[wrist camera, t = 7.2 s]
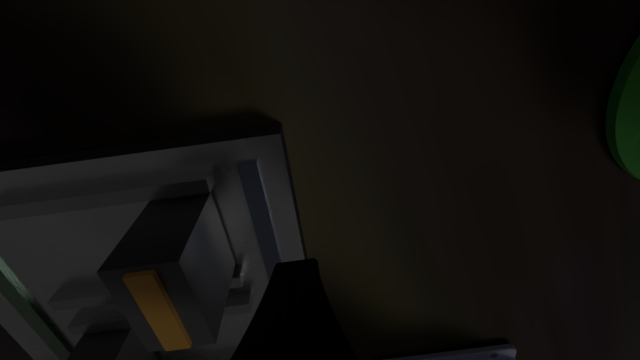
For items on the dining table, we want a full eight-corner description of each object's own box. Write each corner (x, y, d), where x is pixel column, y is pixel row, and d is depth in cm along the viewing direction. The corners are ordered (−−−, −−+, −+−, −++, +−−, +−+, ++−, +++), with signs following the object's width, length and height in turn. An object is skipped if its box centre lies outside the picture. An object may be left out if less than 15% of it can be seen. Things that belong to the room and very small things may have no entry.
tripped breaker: (210, 192, 13) (176, 266, 9) (235, 263, 15) (214, 348, 11) (150, 200, 13) (92, 277, 9) (182, 270, 15) (145, 357, 11)
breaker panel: (281, 123, 13) (278, 141, 12) (334, 402, 24) (337, 433, 22) (-95, 174, 14) (-153, 200, 12) (124, 428, 24) (111, 460, 23)
